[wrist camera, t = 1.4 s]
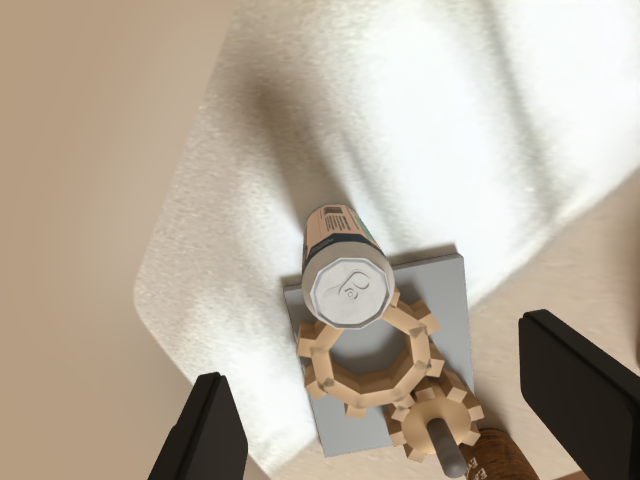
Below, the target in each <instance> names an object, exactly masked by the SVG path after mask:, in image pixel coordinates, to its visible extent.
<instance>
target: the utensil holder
mask: <svg viewBox="0 0 640 480" xmlns="http://www.w3.org/2000/svg"><path fill="white" fill-rule="evenodd" d="M479 432H480V434H481V435H480V437H479V438H478V440H477V441H476V442H475V444H474V445H473V446H470V445H468V444H465V443H462V444H461V446H460V449H459V450H460V452H461V454H462V456H463V458H464V460H465V462H466V464H467V471H466V473H465V474H464V475H465V477H466V479H467V480H540V479H539V478H538V476H537V474H536V473H535V471H534V469H533V468H532V466H531V465H530V463H529V462H528V460H527V459H526V457H525V456H524V455H523V453H522V452H521V450H520V449H519V447H518V446H517V445H516V443H515V442H514V441H513V440H512V439H511V438H510V437H509V436H508V435H507V434H506V433H504V432H502V431H499V430H495V429H484V430H480V431H479Z"/></svg>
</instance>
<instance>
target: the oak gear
mask: <svg viewBox="0 0 640 480" xmlns="http://www.w3.org/2000/svg"><path fill="white" fill-rule="evenodd" d="M399 296H400V292H399V290H398V288H397V287H396V285H394V293H393V296H392V299H391V302H390V303H389V305H388V306H387V308H386V309H385V311H384V312H383V314H382V316H381V317H380V318H379V319H383V320H385V321H387V322H388V323H390V324H392V325H393V326H395V327H396V328H398V329H400V330H401V331H403V332H404V339H405V346H406V347H405V348H404V349H403V351H402V352H401V353H400V354H399V355H398V357H397V358H396V359H395V360H394V361H393V363H392V364H391V365H390V366H389V368H388V369H386V370H380V371H375V372H370V373H364V374H359V375H356V374H355V373H353V372H351V371H349V370H348V369H346V368H344V367H342V366H340V365H339V364H337V363H335V362H333V361H332V358H331V353H330V348H331V347H332V345H333V344H334V343H335V341H336V340H337V339H338V337H339V336H340V335H341V334H342V332H343V331H344V330H345V329H335V328H334V327H332V326H330V325H328V324H326V323H324V322H322V321H321V320H319V319H318V320H317V321H316V323H315V324H312V323H306V322H301V323H300V328H299V333H298V338H297V356H304V357H310V358H312V364H310V365H308V366H307V367H305V388H306V390H307V391H308V392H309V393H310V394H311V396H312V397H313V398H314V399H315V400H317V399H319V398H320V397H322V396H324V395H326V394H327V393H328V394H329V395H331V396H333V397H335V398H337V399H339V400H341V401H342V402H344V408H345V415H346V417H353V418H361V419H364V417H365V414H366V410H367V408H368V407H373V406H378V405H384V404H389V403H393V404H394V406H395V407H396V408H397V407H398V406H401V407H403V408H408V407H410V406H412V405H414V404H416V402H415V400H414V397H413V395H412V392H411V391H412V390H413V389H414V387H415V386H416V385H417V384H418V383H419V382H420V380H421V379H422V378H423V377H424V376H425V375H428V376H434V377H439V376H440V373H441V370H442V367H443V364H444V361H445V360H444V359H443V357H442V356H441V354H440V352H439V351H438V349H437V347H436V346H435V344H434V343H429V340H428V335H430V334H431V333H433V332H435V331H437V330H438V329H440V328H441V327H440V325H439V324H438V322H437V321H436V319H435V317H434V316H433V314H432V313H431V311H430V310H429V308H428V307H427V306H426V304H425V303H424V301H423V300H422V299H420V300H418V301H416V302H415V303H413V304H411V305H407V304H406V303H404V302H402V301H401V300H399ZM379 319H377V320H379ZM401 407H398V409H399V408H401ZM398 409H397V410H398ZM401 409H402V408H401ZM401 409H399V410H398V411H400V410H401ZM403 410H405V409H403ZM401 411H402V410H401ZM401 411H400V412H401Z"/></svg>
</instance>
